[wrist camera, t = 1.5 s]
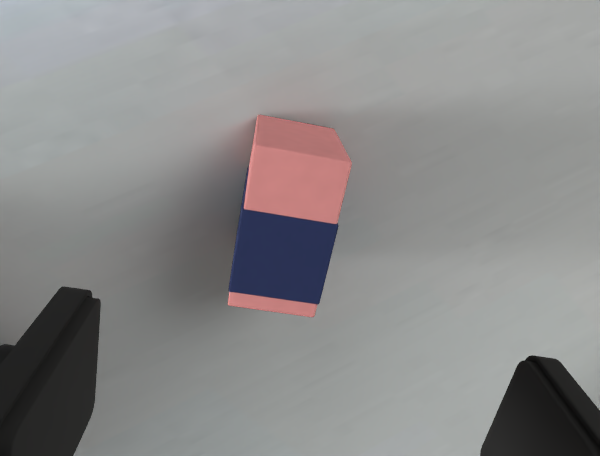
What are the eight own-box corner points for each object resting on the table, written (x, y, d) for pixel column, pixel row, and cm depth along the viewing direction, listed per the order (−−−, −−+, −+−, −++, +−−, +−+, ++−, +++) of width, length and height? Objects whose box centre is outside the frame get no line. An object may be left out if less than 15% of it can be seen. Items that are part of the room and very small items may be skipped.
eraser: (256, 113, 21) (252, 144, 16) (335, 128, 21) (354, 162, 16) (234, 245, 23) (225, 306, 18) (306, 257, 23) (315, 319, 19)
